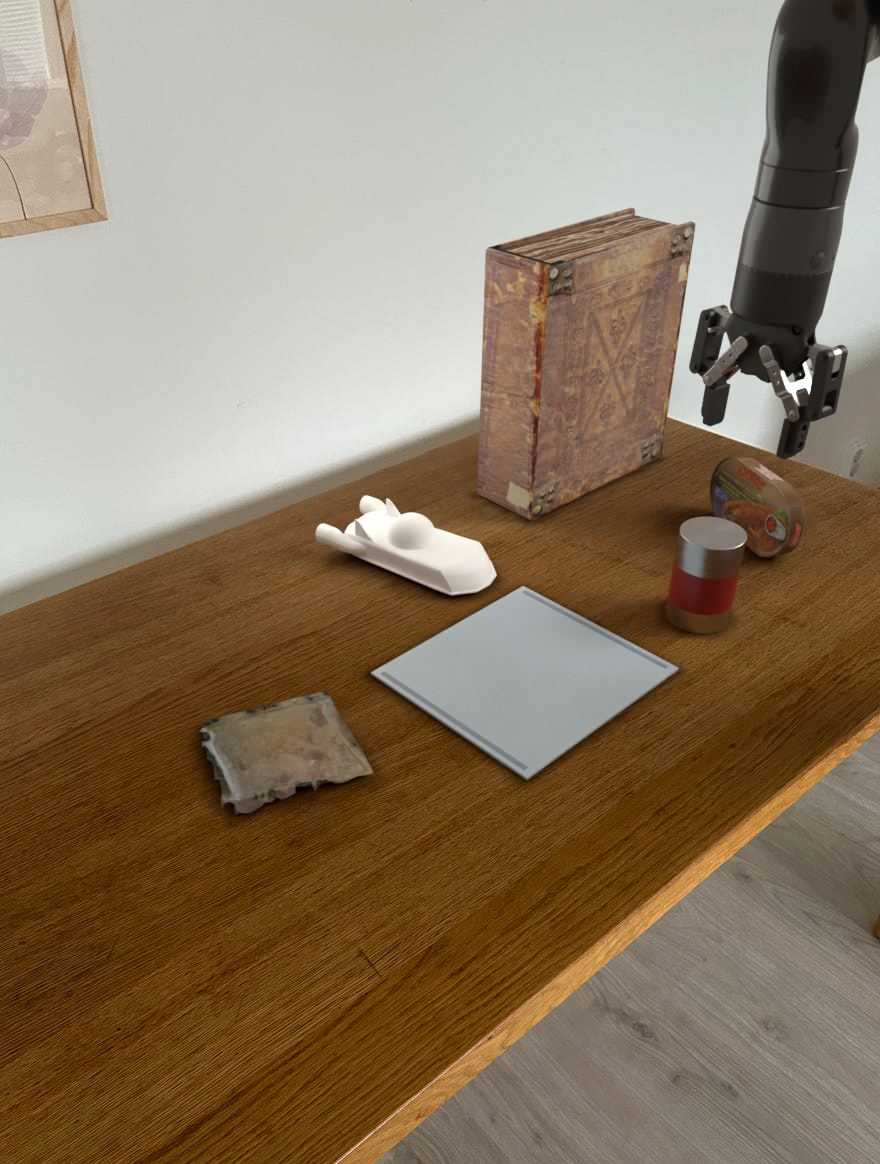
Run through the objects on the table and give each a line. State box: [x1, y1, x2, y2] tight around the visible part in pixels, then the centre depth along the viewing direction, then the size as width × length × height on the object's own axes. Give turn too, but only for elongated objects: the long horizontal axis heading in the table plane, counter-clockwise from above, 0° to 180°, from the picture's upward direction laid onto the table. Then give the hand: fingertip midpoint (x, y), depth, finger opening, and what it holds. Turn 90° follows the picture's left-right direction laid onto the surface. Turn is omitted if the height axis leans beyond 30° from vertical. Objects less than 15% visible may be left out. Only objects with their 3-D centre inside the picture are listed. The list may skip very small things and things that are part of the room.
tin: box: [709, 456, 807, 558], centre depth 115 cm, size 15×3×8 cm, turn 17°
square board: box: [370, 585, 680, 781], centre depth 98 cm, size 20×22×1 cm
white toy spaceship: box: [314, 494, 497, 596], centre depth 112 cm, size 10×20×6 cm, turn 54°
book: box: [476, 207, 696, 522], centre depth 122 cm, size 25×9×30 cm, turn 131°
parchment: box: [198, 690, 374, 816], centre depth 89 cm, size 12×13×1 cm
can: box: [664, 516, 747, 635], centre depth 102 cm, size 6×6×10 cm
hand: (748, 439), depth 93 cm, fingers open, 8 cm apart
